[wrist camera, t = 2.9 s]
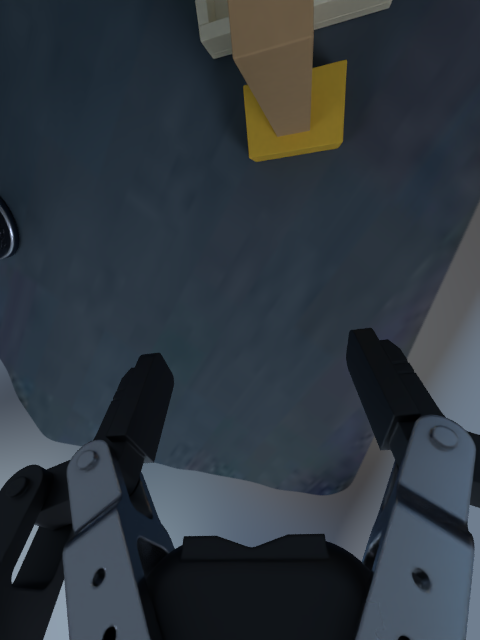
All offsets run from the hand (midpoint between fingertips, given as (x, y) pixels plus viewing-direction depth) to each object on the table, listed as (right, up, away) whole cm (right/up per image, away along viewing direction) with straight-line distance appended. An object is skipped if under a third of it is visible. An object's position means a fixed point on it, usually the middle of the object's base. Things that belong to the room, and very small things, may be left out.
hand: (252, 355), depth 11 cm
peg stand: (+4, +18, +10) cm, 21 cm away
